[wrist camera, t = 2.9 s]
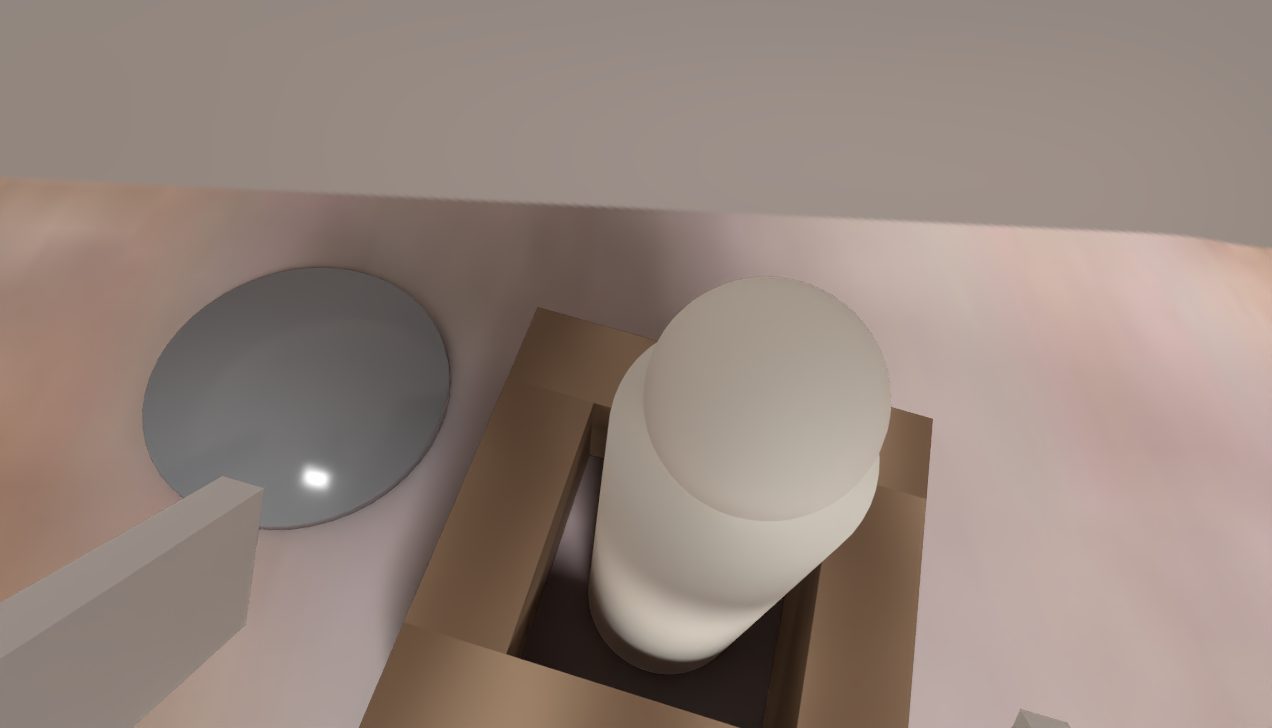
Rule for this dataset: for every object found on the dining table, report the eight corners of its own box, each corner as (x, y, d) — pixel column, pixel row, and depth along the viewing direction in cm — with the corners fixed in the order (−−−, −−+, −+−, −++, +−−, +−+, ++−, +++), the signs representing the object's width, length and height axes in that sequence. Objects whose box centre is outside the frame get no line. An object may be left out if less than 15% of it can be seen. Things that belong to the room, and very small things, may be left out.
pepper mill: (756, 540, 25) (977, 249, 12) (725, 695, 23) (961, 550, 9) (613, 497, 25) (670, 167, 12) (567, 646, 23) (574, 437, 10)
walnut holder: (885, 467, 27) (932, 418, 23) (837, 893, 20) (893, 913, 17) (540, 368, 28) (537, 306, 24) (388, 746, 21) (354, 737, 18)
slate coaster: (491, 317, 29) (490, 308, 28) (375, 568, 24) (371, 563, 23) (249, 248, 29) (243, 238, 29) (86, 478, 24) (76, 471, 24)
